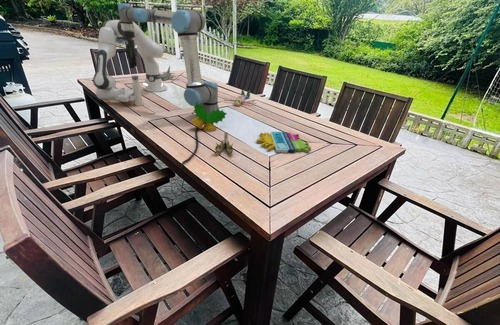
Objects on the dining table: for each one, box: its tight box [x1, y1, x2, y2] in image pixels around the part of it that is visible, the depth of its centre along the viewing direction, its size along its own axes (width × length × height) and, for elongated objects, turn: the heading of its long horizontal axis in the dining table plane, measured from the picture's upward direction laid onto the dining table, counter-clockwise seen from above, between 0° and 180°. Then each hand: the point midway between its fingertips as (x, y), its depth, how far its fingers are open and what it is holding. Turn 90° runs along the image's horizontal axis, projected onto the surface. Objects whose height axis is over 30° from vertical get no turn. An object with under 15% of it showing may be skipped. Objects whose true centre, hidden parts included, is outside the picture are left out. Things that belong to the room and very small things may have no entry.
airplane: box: [160, 65, 176, 81], centre depth 271 cm, size 38×32×10 cm
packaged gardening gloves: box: [256, 131, 312, 154], centre depth 152 cm, size 26×2×30 cm
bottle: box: [131, 79, 144, 107], centre depth 192 cm, size 6×6×20 cm
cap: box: [131, 74, 139, 81], centre depth 188 cm, size 4×4×2 cm
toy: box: [223, 89, 257, 106], centre depth 219 cm, size 28×7×30 cm
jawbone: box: [214, 131, 234, 156], centre depth 136 cm, size 9×15×10 cm
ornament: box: [191, 102, 228, 132], centre depth 162 cm, size 21×8×15 cm, turn 105°
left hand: (138, 96), depth 194 cm, fingers open, 8 cm apart
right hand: (133, 67), depth 184 cm, fingers open, 7 cm apart
